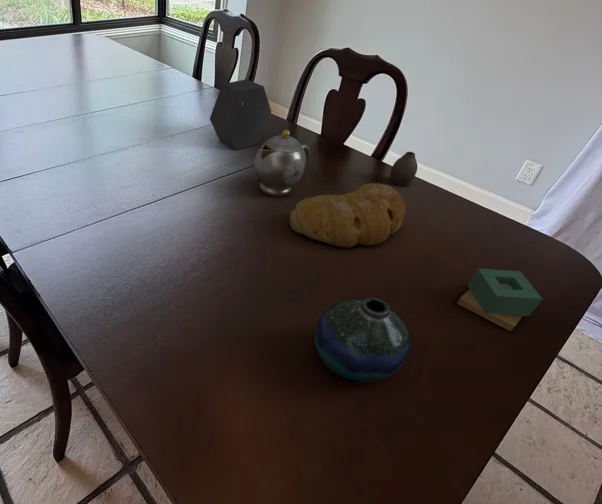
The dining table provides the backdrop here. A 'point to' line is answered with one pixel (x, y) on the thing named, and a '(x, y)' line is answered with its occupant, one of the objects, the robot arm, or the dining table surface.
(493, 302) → the green block with hole
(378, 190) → the bread
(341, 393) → the dining table surface
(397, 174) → the vase
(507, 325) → the wooden peg base
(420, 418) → the dining table surface
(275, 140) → the teapot
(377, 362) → the vase
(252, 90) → the planter
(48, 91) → the dining table surface
